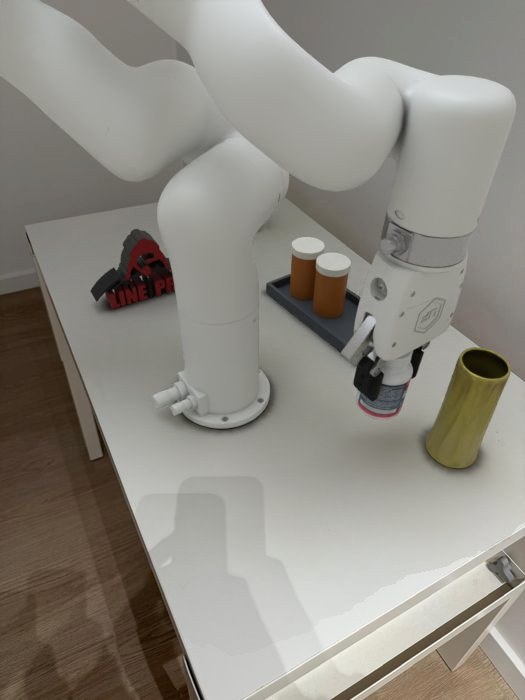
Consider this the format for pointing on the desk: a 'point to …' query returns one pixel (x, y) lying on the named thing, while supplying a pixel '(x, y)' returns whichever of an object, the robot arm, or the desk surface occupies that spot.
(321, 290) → the amber bottle near
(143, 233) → the logo sign
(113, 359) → the desk surface
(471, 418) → the vase
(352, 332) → the tray
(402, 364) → the pill bottle
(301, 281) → the amber bottle far
